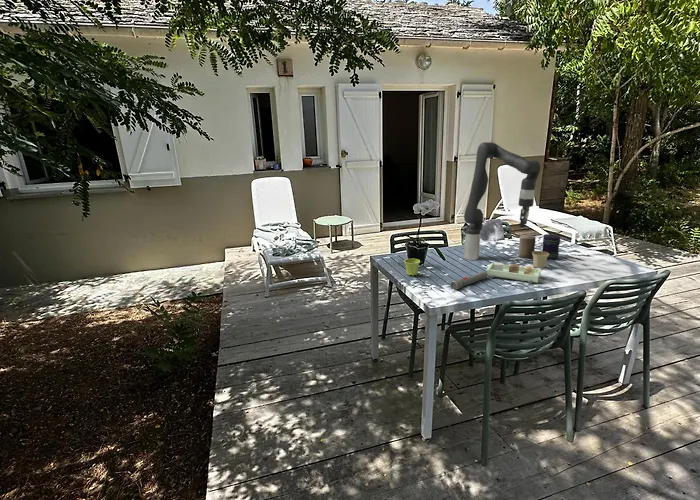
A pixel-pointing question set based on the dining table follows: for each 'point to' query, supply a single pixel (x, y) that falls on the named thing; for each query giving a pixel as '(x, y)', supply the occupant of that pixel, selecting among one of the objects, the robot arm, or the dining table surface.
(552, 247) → the storage jar
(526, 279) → the cart
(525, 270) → the beech part
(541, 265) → the flower pot
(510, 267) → the walnut part
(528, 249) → the pillar candle
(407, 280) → the dining table surface
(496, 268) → the grey part
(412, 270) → the plant pot
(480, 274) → the flashlight
